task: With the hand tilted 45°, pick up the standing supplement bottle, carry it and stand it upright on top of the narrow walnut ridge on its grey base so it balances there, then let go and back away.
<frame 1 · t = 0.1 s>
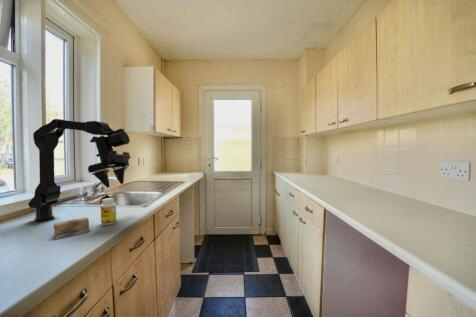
hand: (115, 185, 96), 15 cm above the counter, tool pointing down, fingers open, 9 cm apart
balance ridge: (72, 233, 83), on the counter
supplement bottle: (109, 223, 94), on the counter
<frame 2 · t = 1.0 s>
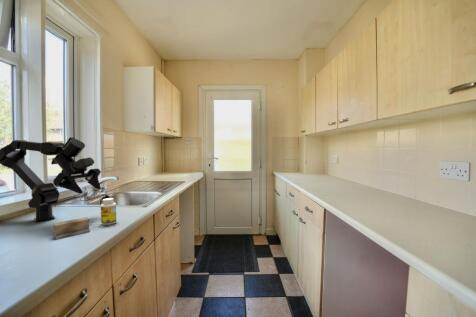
hand: (91, 191, 95), 13 cm above the counter, tool tilted 45°, fingers open, 9 cm apart
nothing on the counter moved.
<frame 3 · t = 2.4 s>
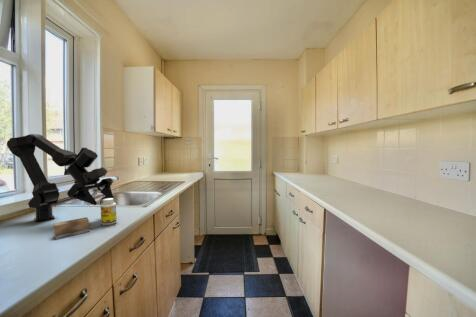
hand: (104, 201, 94), 9 cm above the counter, tool tilted 45°, fingers open, 9 cm apart
nothing on the counter moved.
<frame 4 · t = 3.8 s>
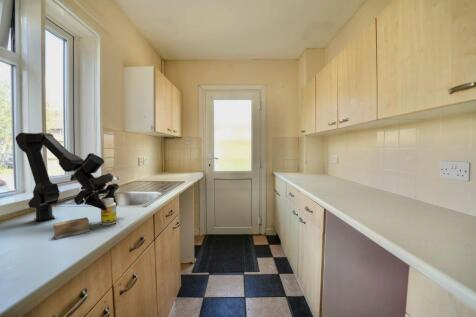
hand: (111, 207, 94), 7 cm above the counter, tool tilted 45°, fingers closed on supplement bottle, 6 cm apart
supplement bottle: (109, 223, 94), on the counter, touching gripper
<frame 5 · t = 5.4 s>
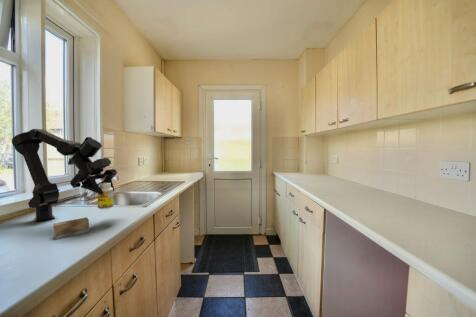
hand: (108, 192, 92), 13 cm above the counter, tool tilted 45°, fingers closed on supplement bottle, 6 cm apart
supplement bottle: (105, 208, 93), point 6 cm above the counter, touching gripper
when the fingers open (12 cm above the counter, at t = 7.2 s): supplement bottle stays where it is, resting on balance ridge.
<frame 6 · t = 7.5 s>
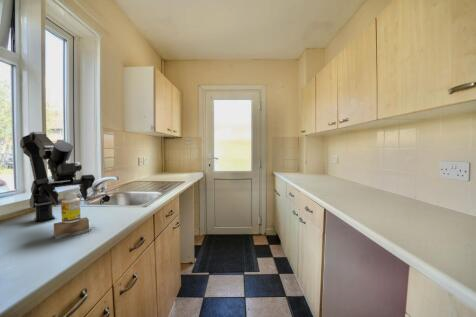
hand: (72, 201, 82), 12 cm above the counter, tool tilted 45°, fingers open, 8 cm apart
supplement bottle: (71, 221, 83), point 4 cm above the counter, touching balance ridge
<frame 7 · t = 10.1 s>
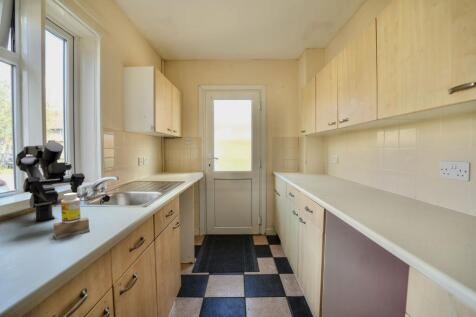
hand: (62, 198, 87), 12 cm above the counter, tool tilted 45°, fingers open, 9 cm apart
nothing on the counter moved.
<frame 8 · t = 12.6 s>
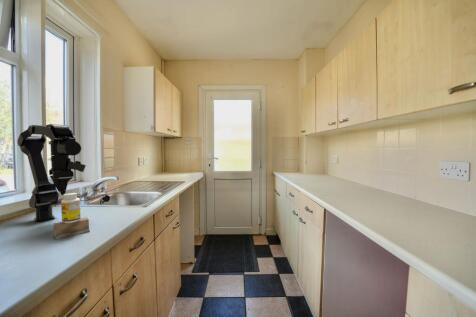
hand: (61, 193, 93), 13 cm above the counter, tool pointing down, fingers open, 9 cm apart
nothing on the counter moved.
at the end: supplement bottle 0.2 cm from the target spot, point 4.3 cm above the counter; supplement bottle tilted 0°; the gripper is holding nothing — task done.
